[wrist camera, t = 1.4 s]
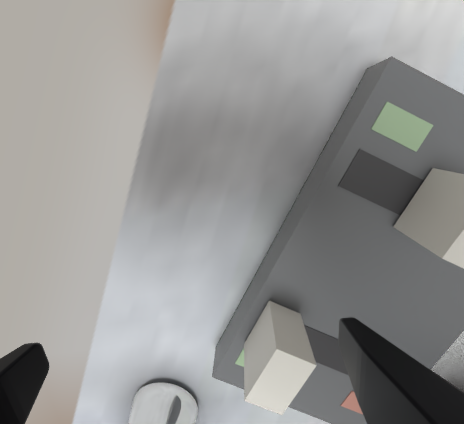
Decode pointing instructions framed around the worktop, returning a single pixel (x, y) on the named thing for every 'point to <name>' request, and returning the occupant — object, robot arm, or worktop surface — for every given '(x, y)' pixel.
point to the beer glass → (163, 405)
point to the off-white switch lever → (437, 216)
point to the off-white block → (276, 359)
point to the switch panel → (363, 240)
